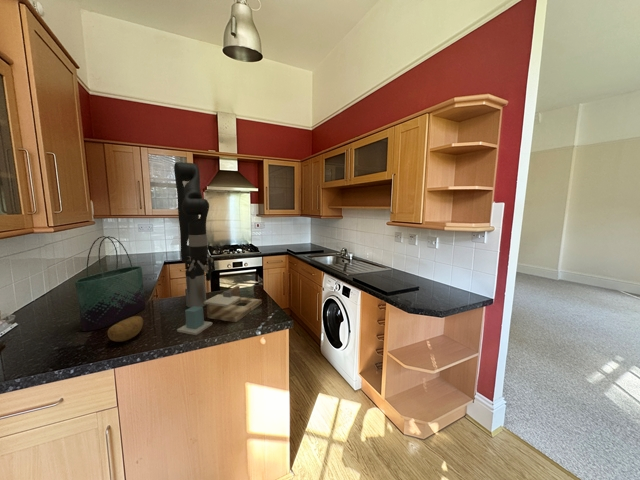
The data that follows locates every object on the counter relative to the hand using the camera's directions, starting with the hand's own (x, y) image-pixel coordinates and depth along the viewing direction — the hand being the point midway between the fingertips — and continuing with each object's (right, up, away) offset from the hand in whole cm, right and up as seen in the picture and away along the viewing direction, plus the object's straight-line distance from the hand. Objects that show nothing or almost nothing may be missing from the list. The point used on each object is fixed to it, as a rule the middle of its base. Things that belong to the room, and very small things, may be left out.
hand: (200, 279), depth 114 cm
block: (-2, -20, -2) cm, 20 cm away
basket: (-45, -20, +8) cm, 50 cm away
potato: (-25, -23, -10) cm, 35 cm away
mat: (-2, -21, -1) cm, 21 cm away
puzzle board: (+10, -19, +18) cm, 28 cm away
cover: (+7, -11, +7) cm, 15 cm away
